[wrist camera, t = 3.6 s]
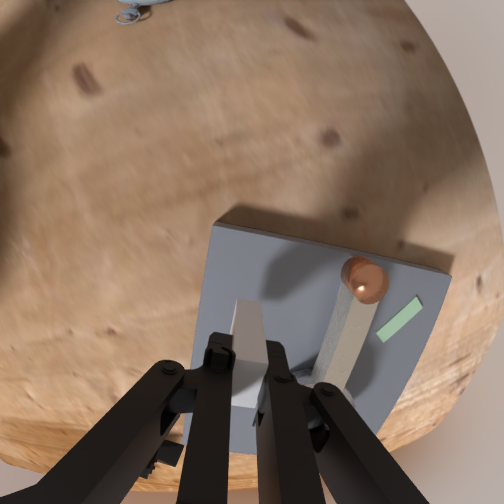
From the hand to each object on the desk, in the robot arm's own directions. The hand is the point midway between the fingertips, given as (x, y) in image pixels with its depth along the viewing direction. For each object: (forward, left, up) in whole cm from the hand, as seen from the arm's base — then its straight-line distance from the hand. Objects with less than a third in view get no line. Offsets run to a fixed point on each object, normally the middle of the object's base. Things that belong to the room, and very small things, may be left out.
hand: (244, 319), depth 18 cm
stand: (+7, -6, -5) cm, 10 cm away
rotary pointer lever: (+7, -6, -2) cm, 10 cm away
